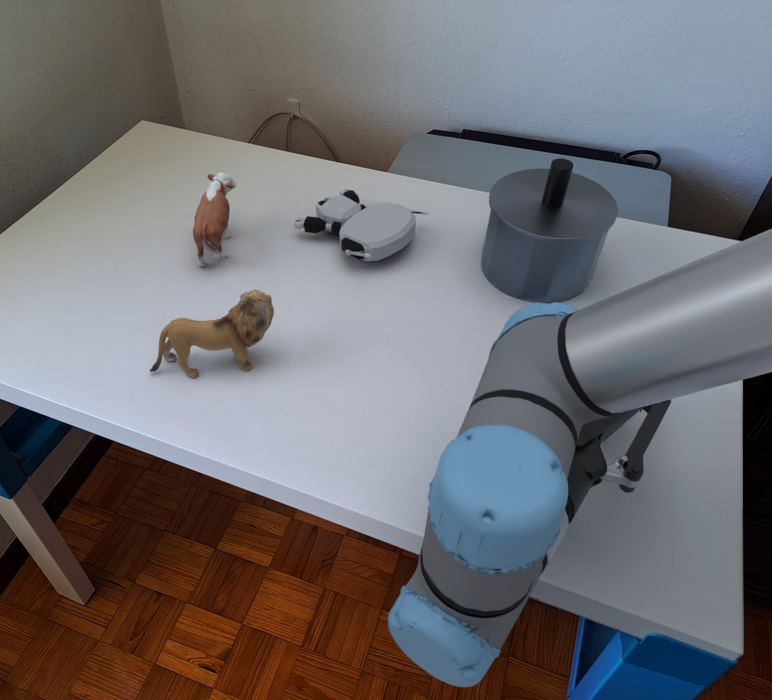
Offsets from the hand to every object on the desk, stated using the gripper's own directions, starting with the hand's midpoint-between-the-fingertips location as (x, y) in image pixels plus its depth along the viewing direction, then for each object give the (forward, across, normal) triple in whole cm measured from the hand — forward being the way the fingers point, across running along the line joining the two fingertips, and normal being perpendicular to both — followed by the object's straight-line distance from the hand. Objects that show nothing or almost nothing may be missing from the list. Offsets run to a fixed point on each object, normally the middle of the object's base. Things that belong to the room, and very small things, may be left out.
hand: (628, 333), depth 67 cm
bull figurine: (-5, -52, -9) cm, 53 cm away
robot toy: (+7, -37, -9) cm, 38 cm away
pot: (+15, -15, -8) cm, 23 cm away
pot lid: (+15, -15, +1) cm, 21 cm away
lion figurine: (-21, -37, -9) cm, 43 cm away
